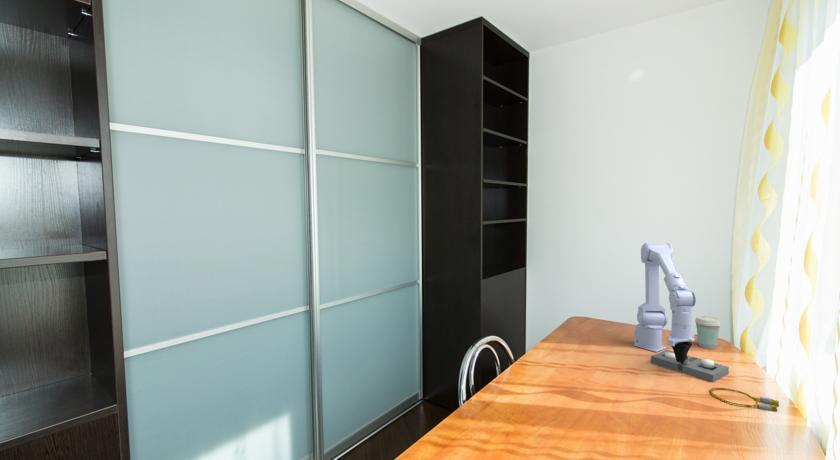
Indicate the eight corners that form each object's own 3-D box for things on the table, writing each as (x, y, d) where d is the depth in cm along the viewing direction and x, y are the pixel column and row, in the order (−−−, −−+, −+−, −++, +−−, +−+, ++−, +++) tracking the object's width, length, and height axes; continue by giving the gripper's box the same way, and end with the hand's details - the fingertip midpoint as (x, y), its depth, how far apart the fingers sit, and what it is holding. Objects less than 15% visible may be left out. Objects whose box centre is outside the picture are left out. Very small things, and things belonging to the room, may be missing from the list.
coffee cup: (711, 343, 164) (712, 315, 163) (725, 350, 156) (725, 321, 155) (690, 343, 165) (690, 315, 164) (702, 350, 156) (703, 321, 156)
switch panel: (650, 362, 145) (650, 355, 145) (667, 355, 151) (667, 349, 151) (712, 382, 128) (713, 375, 128) (728, 373, 134) (728, 366, 134)
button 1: (662, 358, 145) (662, 353, 145) (667, 356, 147) (667, 351, 147) (673, 361, 142) (673, 356, 142) (678, 359, 144) (678, 354, 144)
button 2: (699, 365, 135) (699, 359, 135) (704, 363, 137) (704, 357, 137) (711, 368, 132) (711, 363, 132) (715, 366, 134) (716, 360, 133)
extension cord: (765, 419, 106) (765, 412, 106) (701, 395, 120) (702, 389, 120) (785, 408, 112) (785, 402, 111) (722, 386, 126) (723, 380, 125)
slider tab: (678, 361, 138) (678, 354, 138) (681, 360, 139) (681, 352, 139) (686, 364, 136) (687, 356, 136) (690, 363, 137) (690, 355, 137)
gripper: (683, 330, 128) (682, 370, 129) (704, 323, 136) (703, 360, 137) (661, 325, 134) (660, 363, 135) (681, 318, 142) (681, 354, 143)
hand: (680, 361), depth 136 cm, fingers closed
